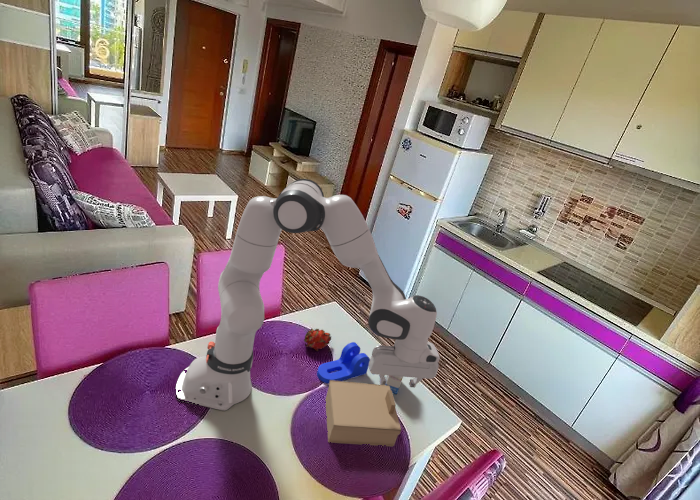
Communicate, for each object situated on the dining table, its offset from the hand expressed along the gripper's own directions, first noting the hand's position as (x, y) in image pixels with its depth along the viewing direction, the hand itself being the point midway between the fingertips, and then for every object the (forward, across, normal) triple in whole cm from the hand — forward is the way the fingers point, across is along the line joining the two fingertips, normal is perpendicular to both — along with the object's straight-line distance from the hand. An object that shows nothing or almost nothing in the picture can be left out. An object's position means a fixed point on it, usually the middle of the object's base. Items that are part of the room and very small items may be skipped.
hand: (397, 384), depth 121 cm
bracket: (+17, -12, +22) cm, 30 cm away
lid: (+10, -9, 0) cm, 13 cm away
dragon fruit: (+16, -20, +35) cm, 44 cm away
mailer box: (+16, -9, 0) cm, 18 cm away
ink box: (+17, +6, +18) cm, 25 cm away
